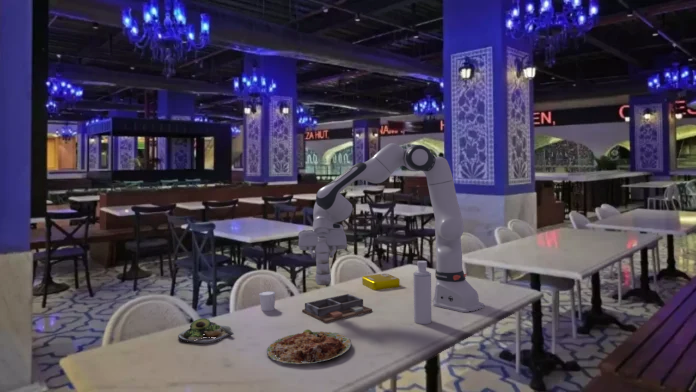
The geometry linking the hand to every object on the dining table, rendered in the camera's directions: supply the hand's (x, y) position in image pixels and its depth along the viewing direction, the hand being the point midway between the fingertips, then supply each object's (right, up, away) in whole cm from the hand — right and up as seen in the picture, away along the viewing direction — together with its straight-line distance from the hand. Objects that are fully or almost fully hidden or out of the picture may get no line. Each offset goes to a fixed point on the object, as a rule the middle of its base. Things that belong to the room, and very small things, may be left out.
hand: (322, 257), depth 195 cm
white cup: (-24, -24, +9) cm, 35 cm away
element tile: (+27, -21, +45) cm, 57 cm away
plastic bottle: (0, -12, +2) cm, 12 cm away
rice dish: (-2, -27, -36) cm, 45 cm away
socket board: (+6, -23, +4) cm, 24 cm away
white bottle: (+39, -24, -11) cm, 47 cm away
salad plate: (-42, -26, -21) cm, 54 cm away
